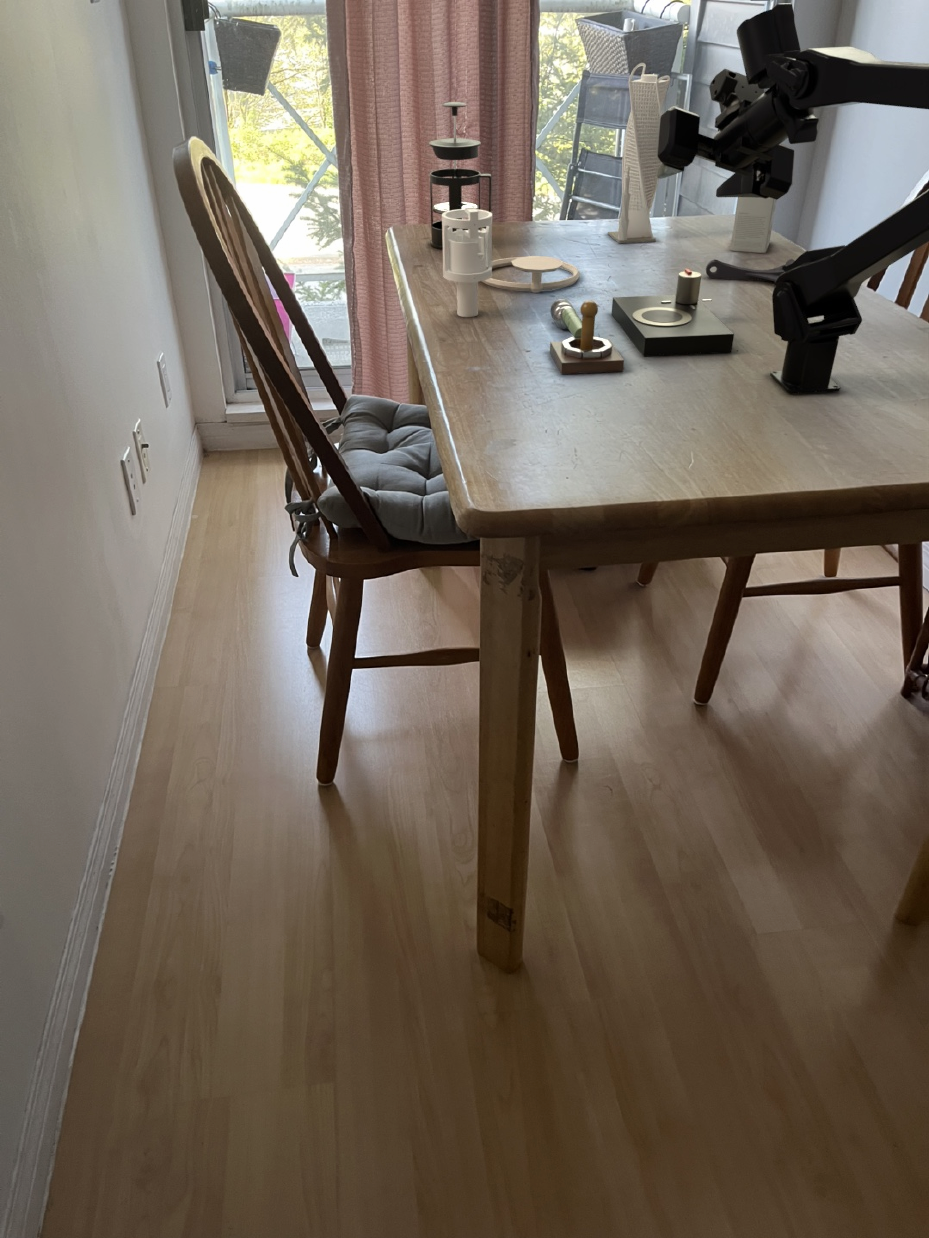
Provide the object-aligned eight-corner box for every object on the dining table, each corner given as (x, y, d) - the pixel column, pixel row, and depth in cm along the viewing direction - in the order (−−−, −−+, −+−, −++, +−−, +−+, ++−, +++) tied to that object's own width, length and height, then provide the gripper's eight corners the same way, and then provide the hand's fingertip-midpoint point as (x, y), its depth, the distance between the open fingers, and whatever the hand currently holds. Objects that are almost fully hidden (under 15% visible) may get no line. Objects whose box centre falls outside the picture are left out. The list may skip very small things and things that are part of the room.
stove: (743, 352, 126) (747, 332, 124) (643, 356, 125) (645, 336, 123) (701, 310, 141) (703, 292, 139) (610, 314, 139) (612, 295, 138)
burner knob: (700, 304, 135) (704, 274, 132) (679, 305, 134) (682, 275, 132) (693, 297, 137) (697, 268, 135) (672, 298, 137) (676, 269, 135)
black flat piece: (704, 265, 161) (706, 248, 159) (794, 269, 158) (797, 252, 157) (705, 290, 149) (708, 272, 147) (803, 295, 147) (807, 276, 145)
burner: (699, 325, 127) (699, 324, 127) (641, 328, 126) (641, 326, 126) (681, 307, 134) (681, 306, 134) (626, 309, 133) (626, 308, 133)
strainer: (451, 323, 136) (449, 213, 128) (438, 309, 142) (436, 202, 133) (497, 318, 138) (499, 209, 129) (483, 304, 143) (483, 199, 135)
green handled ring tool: (614, 369, 121) (616, 342, 119) (566, 371, 120) (568, 344, 118) (579, 317, 138) (581, 293, 136) (537, 319, 138) (538, 295, 136)
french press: (424, 250, 170) (420, 106, 157) (428, 237, 178) (425, 99, 164) (490, 251, 169) (491, 106, 156) (491, 238, 177) (492, 99, 164)
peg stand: (623, 371, 120) (628, 309, 116) (561, 374, 120) (564, 311, 115) (608, 350, 127) (613, 290, 122) (549, 352, 126) (552, 292, 121)
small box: (734, 240, 175) (746, 163, 167) (770, 243, 173) (783, 165, 165) (729, 251, 168) (740, 171, 161) (765, 253, 167) (779, 173, 159)
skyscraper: (605, 232, 180) (618, 63, 164) (646, 230, 181) (662, 61, 165) (619, 243, 173) (634, 67, 157) (661, 241, 174) (680, 66, 158)
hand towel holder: (569, 236, 161) (596, 268, 144) (568, 262, 163) (594, 297, 146) (470, 238, 159) (486, 271, 142) (470, 265, 162) (486, 301, 145)
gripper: (832, 83, 115) (750, 146, 130) (703, 33, 108) (632, 105, 123) (826, 171, 114) (744, 224, 129) (696, 126, 108) (625, 187, 122)
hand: (688, 184), depth 126 cm, fingers open, 9 cm apart
